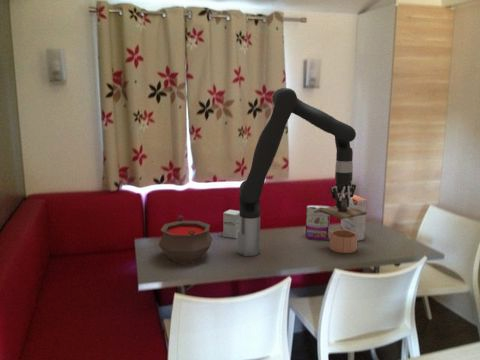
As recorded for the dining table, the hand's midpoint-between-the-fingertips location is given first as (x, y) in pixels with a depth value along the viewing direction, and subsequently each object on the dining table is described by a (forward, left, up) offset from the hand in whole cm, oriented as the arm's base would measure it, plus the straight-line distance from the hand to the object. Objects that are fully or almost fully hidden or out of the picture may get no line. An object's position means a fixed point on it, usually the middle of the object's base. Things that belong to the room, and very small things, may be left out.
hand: (342, 207), depth 190 cm
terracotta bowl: (+2, +1, -20) cm, 20 cm away
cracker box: (+18, +11, -20) cm, 29 cm away
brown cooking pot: (-66, +27, -20) cm, 74 cm away
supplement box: (-34, +42, -20) cm, 57 cm away
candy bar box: (+1, +18, -20) cm, 27 cm away
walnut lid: (0, 0, -3) cm, 3 cm away
